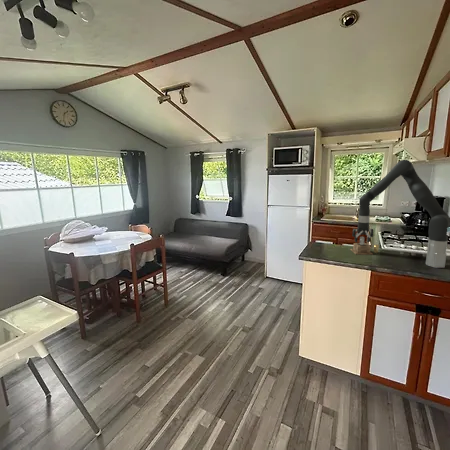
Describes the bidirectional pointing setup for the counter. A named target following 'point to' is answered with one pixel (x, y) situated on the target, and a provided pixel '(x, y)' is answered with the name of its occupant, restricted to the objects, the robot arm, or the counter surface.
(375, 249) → the short brass pin
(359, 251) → the socket block
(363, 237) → the long steel pin
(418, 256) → the counter surface
